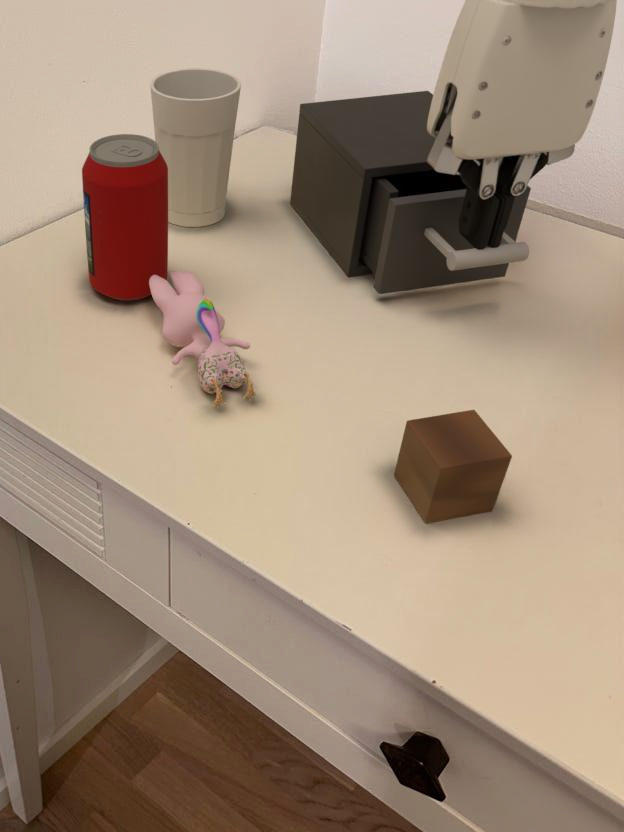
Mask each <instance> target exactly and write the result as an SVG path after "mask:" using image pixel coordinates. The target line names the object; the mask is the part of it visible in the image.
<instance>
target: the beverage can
mask: <svg viewBox="0 0 624 832" xmlns="http://www.w3.org/2000/svg"><path fill="white" fill-rule="evenodd" d="M81 178H82V179H81V180H82V196H83V200H82V201H83V214H84V229H85V242H86V244H85V245H86V256H87V257H86V258H87V259H86V260H87V270H88V279H89V284H90V286H91V287H92V289H94V290H95V291H97V292H98V293H100V294H102V295H104V296H107V297H108V298H110V299H113V300H118V301H128V302H129V301H138V300H141V299H145V298H147V297H149V296H150V295H151V296H152V294H151V290H150V286H149V280H150V278H151V276H153V275H157V276H159V277H162V278H164V279H165V280H167V281H168V271H169V270H168V265H169V264H168V263H169V222H168V167H167V164H166V162H165V160H164V158H163V156H162V155H161V153H160V151H159V146H158V144H157V142H155V139H152V138H150V137H148V136H144V135H141V134H132V133H121V134H120V133H119V134H112V135H107V136H103V137H101V138H98V139H96V140H95V141H94V142H92V143H91V145H90V146H89V152H88V154H87V157H86V159H85V161H84V163H83V165H82V167H81Z"/></svg>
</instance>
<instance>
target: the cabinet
mask: <svg viewBox="0 0 624 832" xmlns="http://www.w3.org/2000/svg"><path fill="white" fill-rule="evenodd" d="M433 94H434V93H432V92H431V91H429V90H422V91H421V90H420V91H412V92H403V93H402V92H401V93H393V94H392V93H391V94H383V95H372V96H364V97H354V98H344V99H334V100H325V101H314V102H305V103H300V104H299V112H298V113H299V114H298V121H297V132H296V141H295V142H296V143H295V150H294V151H295V152H294V160H293V161H294V162H293V171H292V181H291V190H290V200H289V204H290V206H292V208H293V209H294V211H295V212H296V213H297V214H298V215H299V217H300V218H301V220H303V222H304V223H305V224H306V225H307V227H308V228H309V230H310V231H311V232H312V233H313V235H314V236H315V237H316V238H317V240H318V241H319V243H321V245H322V246H323V247H324V248H325V250H326V251H327V252H328V254H330V256H331V258H333V260H334V262H336V263H337V265H338V266H339V267H340V269H341V270H342V271H343V272H344V274H345V275H346V276H347V277H355V276H362V275H363V276H364V275H369V274H370V275H371V274H374V273H373V272H372V271H371V270H370V269H369V267H368V266H367V265H366V264H365V263H364V261H363V260H362V259H361V258H360V257H359V256H360V250H361V244H362V238H363V232H364V226H365V220H366V214H367V208H368V202H369V196H370V190H371V184H372V177H379V176H388V175H396V174H405V173H413V172H421V171H430V170H434V169H433V168H432V167H431V166H430V165H429V164H428V163H427V158H428V156H429V153H430V151H431V149H432V147H433V144H434V142H435V140H436V138H435V137H433V136H431V135H430V134H429V133H428V131H427V121H428V115H429V111H430V106H431V102H432V98H433Z"/></svg>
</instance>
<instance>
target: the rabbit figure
mask: <svg viewBox="0 0 624 832" xmlns="http://www.w3.org/2000/svg"><path fill="white" fill-rule="evenodd" d="M169 276H170V278H171V281H172V283H173V286H174V287H175V288H173V286H172V285H171V284H170V282H169V281H168V279H167V280H165V279H164V278H162V277H159V276H157V275H153V276H151V278H150V280H149V286H150V290H151V296H152V300H153V302H154V303H155V304H156V306H157V307H158V308H159V309H160V310H161V313H162V315H163V321H162V328H161V337H162V338H163V339H164V341H165V342H167V343H168V344H169V345H171V346H173V347H177V348H181V349H180V350H179V351H177V353H176V354H175V355H174V356H173V358H172V359H171V365H173V366H177V365H180V363H181V360H182V359H183V358H185V357H189V356H193V357H194V358H195V359H196V360H197V361H198V364H197V378H198V383H199V385H200V387H201V389H202V390H203V391H204V392H206V393H207V394H216V395H215V400H214V401H213V403H212V405H213V407H215V405H216V409H217V410H218V409H219V404H221V403H224V404H225V405H226V404H227V403H226V401H225V400H224V399H223V394H222V390H221V389H222V388H223V386H227V387H229V388H232V389H238V388H241V387H242V386H243V385H244V384H245V382H246V383H247V389H246V390H247V391H246V393H245V395H244V396H243V400H245V398H246V397H248V400H249V402H252V398H251V397H252V396H253V397H254V398H257V397H256V392H255V391H254V386H253V385H254V382H251V379H250V374H249V372H248V371H247V369H246V367H245V364H244V362H243V360H242V358H241V356H240V354H239V353H238V351H236V350H235V349H233V348H232V347H237V348H240V349H242V350H249V349H250V348H251V344H250V342H248V341H244V340H240V339H235V338H225V337H224V338H223V337H221V333H222V332H223V330H224V328H225V324H226V321H225V318H224V317H223V316H222V315H221V314H220V313H219V312H218V311H217V310H216V309H215V306H214V305H213V302H212V300H209V298H207V297H206V296H205V288H204V286H203V284H202V282H201V281H200V280H199V279H198V278H197V277H196V276H195V275H194V274H193V273H192V272H188V271H184V270H172V271H171V270H170V271H169ZM175 289H176V290H175ZM176 291H177V292H176ZM177 293H178V294H177Z"/></svg>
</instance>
